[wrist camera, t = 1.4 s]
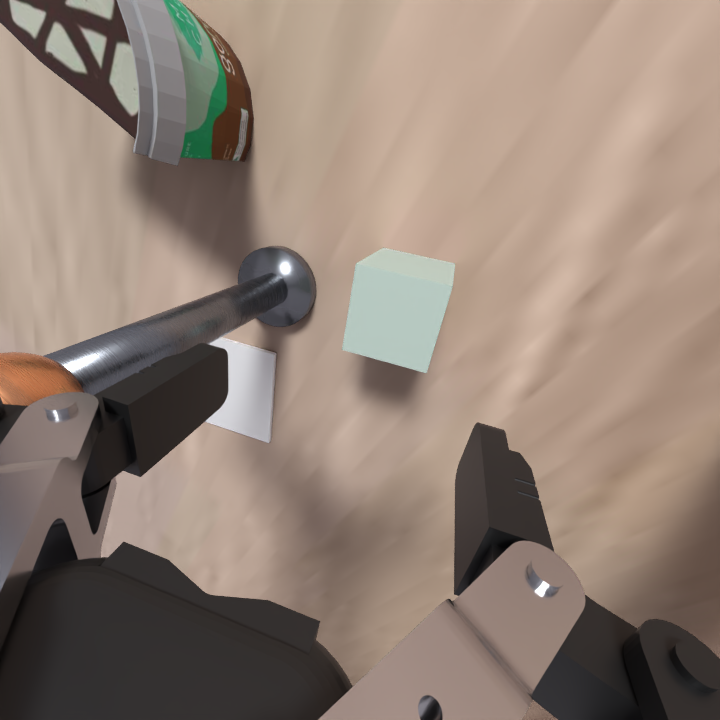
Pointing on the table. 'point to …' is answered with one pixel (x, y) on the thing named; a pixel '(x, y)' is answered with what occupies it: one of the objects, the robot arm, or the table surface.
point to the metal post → (166, 331)
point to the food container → (144, 71)
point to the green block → (398, 307)
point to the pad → (247, 390)
